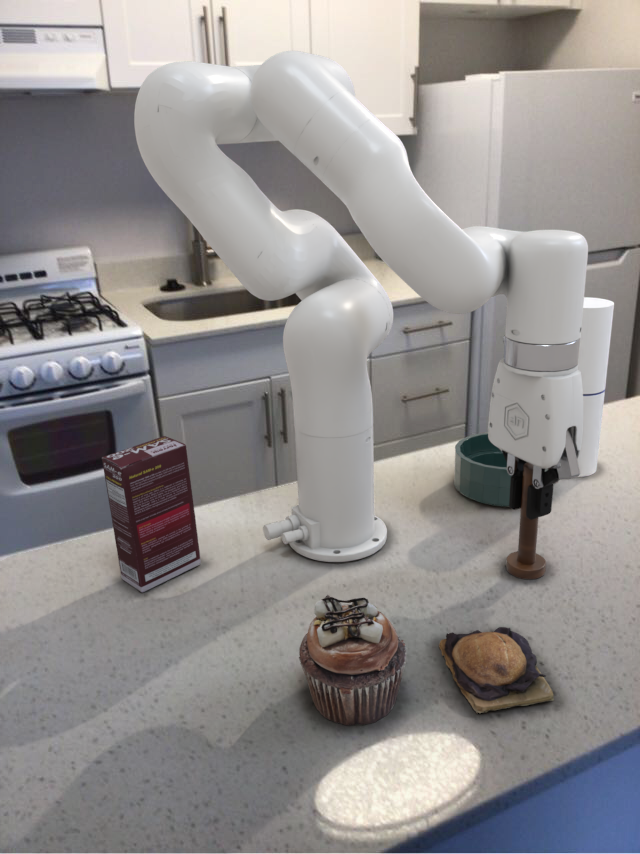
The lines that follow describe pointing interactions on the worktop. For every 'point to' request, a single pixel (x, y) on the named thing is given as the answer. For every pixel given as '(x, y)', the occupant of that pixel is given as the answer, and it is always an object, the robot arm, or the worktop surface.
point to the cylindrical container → (593, 376)
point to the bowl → (482, 471)
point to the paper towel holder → (526, 539)
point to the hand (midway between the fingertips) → (529, 509)
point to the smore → (495, 669)
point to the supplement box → (152, 511)
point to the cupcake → (352, 661)
